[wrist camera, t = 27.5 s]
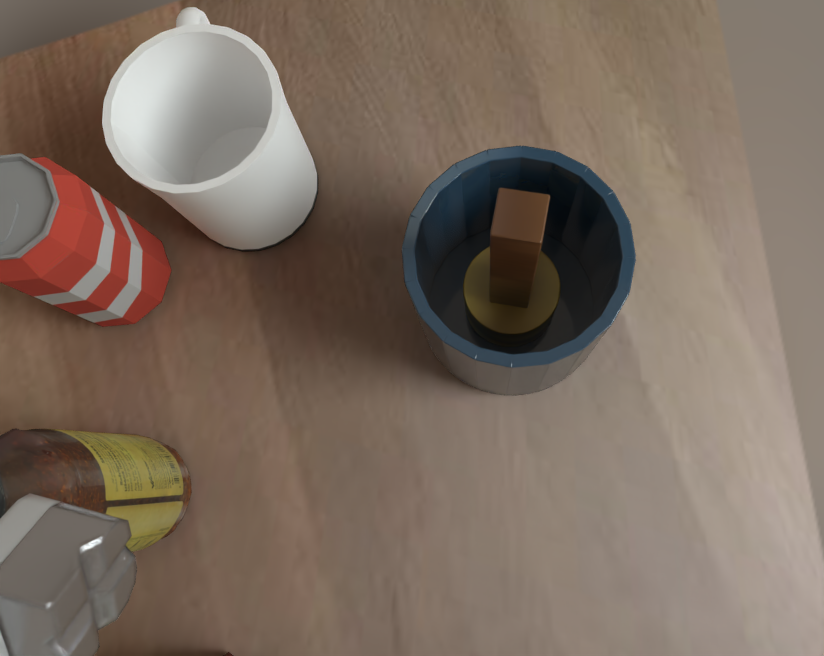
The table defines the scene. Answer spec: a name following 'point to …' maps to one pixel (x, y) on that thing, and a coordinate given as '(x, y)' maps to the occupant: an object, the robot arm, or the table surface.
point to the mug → (212, 134)
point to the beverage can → (75, 245)
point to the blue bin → (562, 242)
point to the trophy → (513, 274)
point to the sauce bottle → (98, 477)
